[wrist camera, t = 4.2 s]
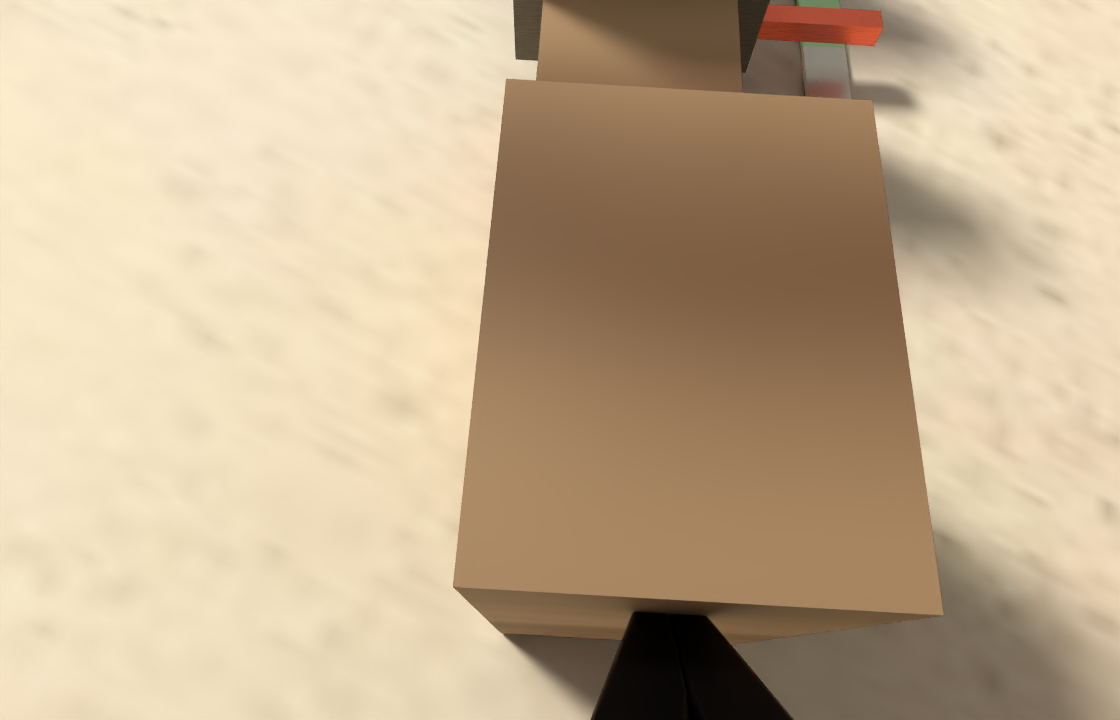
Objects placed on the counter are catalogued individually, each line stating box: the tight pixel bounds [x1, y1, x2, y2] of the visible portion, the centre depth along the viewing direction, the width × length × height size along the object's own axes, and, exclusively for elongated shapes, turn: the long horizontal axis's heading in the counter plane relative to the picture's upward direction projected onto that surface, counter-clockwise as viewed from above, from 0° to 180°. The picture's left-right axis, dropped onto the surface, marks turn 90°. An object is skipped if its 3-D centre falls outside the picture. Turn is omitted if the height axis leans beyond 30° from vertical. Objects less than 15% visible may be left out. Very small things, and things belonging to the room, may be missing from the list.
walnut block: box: [453, 0, 944, 645], centre depth 14 cm, size 14×4×9 cm, turn 177°
